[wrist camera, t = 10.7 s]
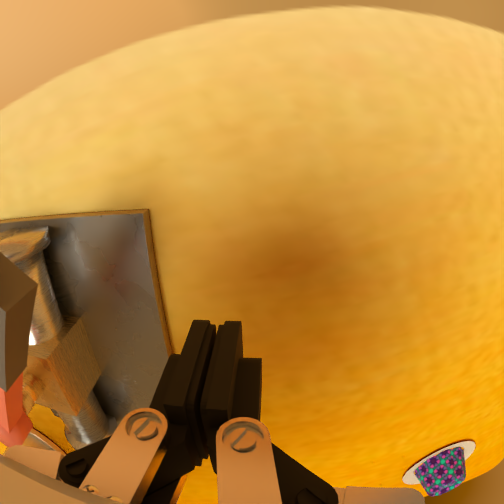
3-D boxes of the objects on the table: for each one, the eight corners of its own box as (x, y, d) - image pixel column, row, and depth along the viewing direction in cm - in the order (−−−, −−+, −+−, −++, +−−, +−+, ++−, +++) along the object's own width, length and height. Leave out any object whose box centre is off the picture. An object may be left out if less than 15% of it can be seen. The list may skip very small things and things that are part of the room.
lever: (32, 434, 15) (20, 456, 13) (-4, 406, 15) (-18, 426, 12) (51, 290, 10) (15, 324, 8) (-7, 241, 9) (-46, 265, 7)
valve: (194, 439, 28) (177, 516, 19) (58, 410, 29) (26, 466, 20) (148, 209, 19) (59, 278, 10) (-18, 222, 20) (-93, 265, 11)
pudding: (440, 476, 33) (448, 499, 28) (386, 483, 33) (392, 510, 28) (487, 434, 29) (499, 459, 24) (435, 439, 28) (447, 471, 23)
